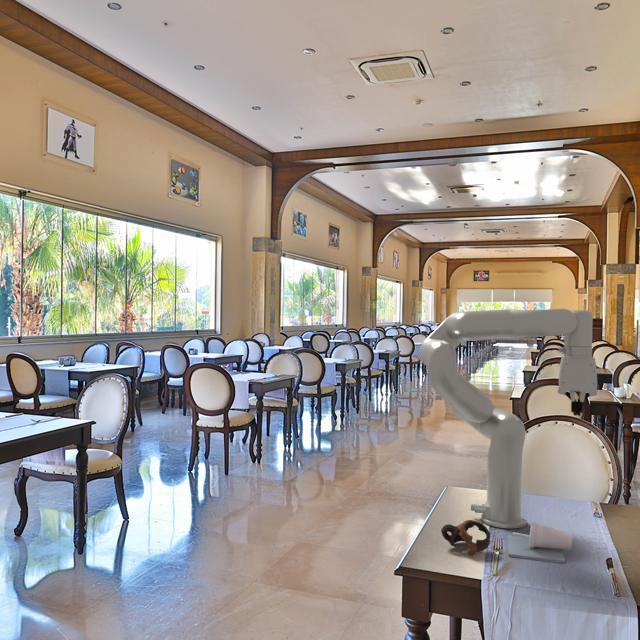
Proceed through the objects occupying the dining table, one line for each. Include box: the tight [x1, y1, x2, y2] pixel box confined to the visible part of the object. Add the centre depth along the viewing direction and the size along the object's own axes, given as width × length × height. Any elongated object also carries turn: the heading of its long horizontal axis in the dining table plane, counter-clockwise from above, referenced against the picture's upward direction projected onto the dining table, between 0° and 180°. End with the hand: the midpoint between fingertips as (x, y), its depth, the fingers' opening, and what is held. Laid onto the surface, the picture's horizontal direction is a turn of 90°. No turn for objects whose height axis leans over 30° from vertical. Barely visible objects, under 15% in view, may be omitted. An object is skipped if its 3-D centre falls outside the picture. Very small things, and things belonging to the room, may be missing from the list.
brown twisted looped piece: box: [440, 519, 491, 557], centre depth 154 cm, size 12×10×8 cm
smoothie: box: [512, 521, 573, 550], centre depth 154 cm, size 6×6×14 cm
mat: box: [507, 534, 566, 564], centre depth 154 cm, size 13×14×1 cm
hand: (576, 414), depth 178 cm, fingers closed
